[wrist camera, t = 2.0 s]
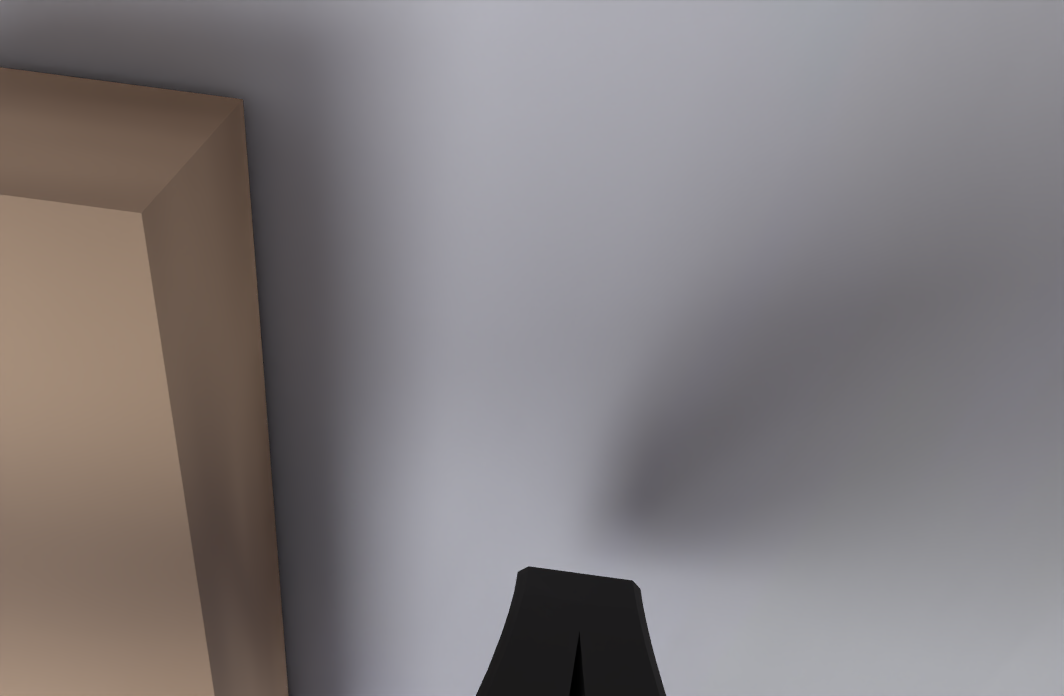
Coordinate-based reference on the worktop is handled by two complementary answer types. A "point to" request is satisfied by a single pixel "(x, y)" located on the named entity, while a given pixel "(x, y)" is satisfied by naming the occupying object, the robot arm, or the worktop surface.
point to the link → (131, 398)
